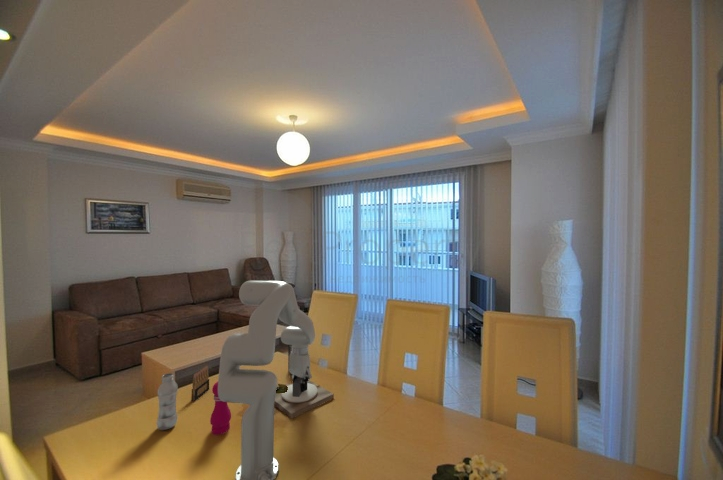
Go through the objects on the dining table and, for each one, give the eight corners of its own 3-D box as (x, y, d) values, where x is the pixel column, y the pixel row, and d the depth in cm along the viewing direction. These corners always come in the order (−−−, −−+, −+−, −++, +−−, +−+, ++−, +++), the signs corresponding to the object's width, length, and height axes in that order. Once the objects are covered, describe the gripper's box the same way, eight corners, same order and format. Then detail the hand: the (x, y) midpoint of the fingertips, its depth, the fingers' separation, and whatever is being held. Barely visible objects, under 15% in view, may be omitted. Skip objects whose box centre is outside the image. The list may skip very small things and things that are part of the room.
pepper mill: (222, 437, 108) (223, 382, 108) (205, 434, 110) (206, 380, 110) (235, 425, 115) (235, 373, 116) (218, 422, 117) (219, 372, 117)
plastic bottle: (152, 429, 112) (153, 377, 112) (171, 420, 118) (171, 370, 118) (162, 434, 109) (163, 380, 109) (181, 424, 115) (181, 373, 115)
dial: (311, 404, 126) (311, 387, 126) (275, 401, 129) (275, 385, 129) (321, 386, 142) (321, 371, 142) (289, 383, 144) (289, 369, 145)
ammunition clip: (205, 389, 143) (205, 364, 143) (209, 389, 143) (209, 364, 143) (191, 400, 133) (191, 374, 133) (195, 401, 132) (195, 374, 133)
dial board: (333, 398, 136) (333, 393, 136) (291, 418, 120) (291, 412, 120) (305, 382, 151) (305, 377, 151) (265, 398, 135) (265, 393, 135)
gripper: (281, 347, 138) (281, 386, 138) (306, 356, 128) (306, 398, 128) (294, 343, 144) (294, 380, 144) (319, 351, 134) (318, 391, 134)
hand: (299, 388), depth 136 cm, fingers closed on dial, 5 cm apart
